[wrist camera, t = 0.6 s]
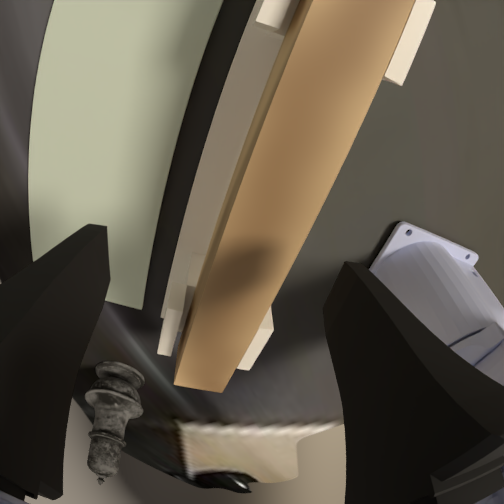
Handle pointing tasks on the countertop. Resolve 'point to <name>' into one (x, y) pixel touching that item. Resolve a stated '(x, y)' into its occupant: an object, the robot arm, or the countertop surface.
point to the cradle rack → (230, 145)
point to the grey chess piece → (112, 414)
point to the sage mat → (111, 124)
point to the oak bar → (285, 174)
